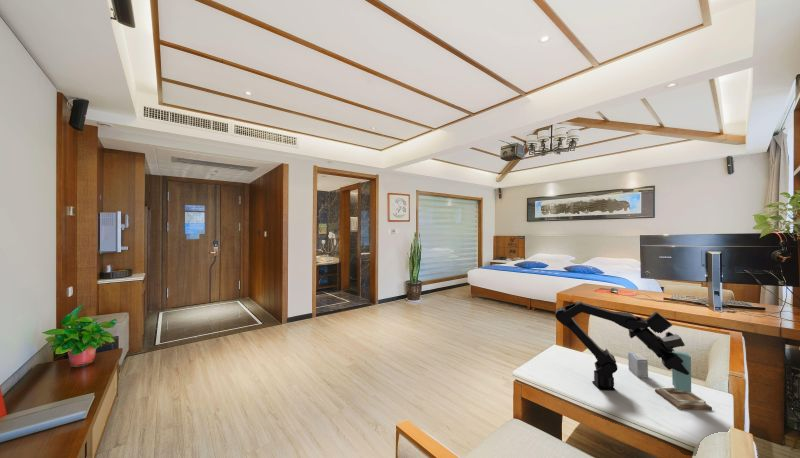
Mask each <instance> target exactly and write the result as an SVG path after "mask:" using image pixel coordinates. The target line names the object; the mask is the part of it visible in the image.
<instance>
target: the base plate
mask: <svg viewBox="0 0 800 458" xmlns="http://www.w3.org/2000/svg"><path fill="white" fill-rule="evenodd" d="M654 393H656V394H657V395H659V396H660V397H661V398H663V399H664V400H666V401H667V402H668V403H670V404H671V405H672V406H673V407H675V408H676V409H678V410H700V411H703V410H704V411H705V410H706V411H712V410H713V407H712V406H711V405H709V404H707V401H705V400H704V399H703V398H701V397H700V396H698V395H696V394H695V393H694V392H692V391H691V392H686V391H681V390H676V389H675V387H669V386H668V387H666V386H665V387H664V386H660V387H659V389H658V388H654ZM707 409H708V410H707ZM709 409H711V410H709Z"/></svg>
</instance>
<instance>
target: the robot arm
mask: <svg viewBox="0 0 800 458" xmlns="http://www.w3.org/2000/svg"><path fill="white" fill-rule="evenodd" d="M581 313H584V314H587V315H590V316H593V317H598V318H600V319H604V320H607V321H610V322H613V323H614V324H617V325H618V326H620V327H622V328H624V329H626V330H628V336H629V337H630V338H631V339H633V338H635V337H636V338H637V339H638V340H639V341H640V342H642V343H643V344H644V345H645V346H646V348H647V349H649V350H650V351H652V352H653V353H654V355H656V356H657V358H658V359H661V364H662V365H663V366H664V367H665V368H666V369H667V370H668V371H670V370H671V371H672V369H674V370H677V371H679V372H681V373H683V374H686V375H688V374H689V372H688V371H687V370H686V369H685V367H684V366H683V365H682V364H681V363H682V362H683V360H682V359H681V357H680V356H678V355H677V354H676V353H672V351H675V349H674V348H680V347H681V348H682V347H685V346H686V344H685V342H684V341H683V339H682V337H681V336H679V334H676V333H672V332H671V331H666V330H668V329H670V328H671V327H672V326H673V324H672V323H671V322H670V321H669V320H668V319H667V318H666V317H664V316H663V315H661V314H660V313H659V312H658V311H655V312H653V313H652V314H651V315H650V316H648V317H647V318H646V319H645V318H644V317H641V316H636V315H634V314H632V313H630V312H627V311H626V312H625V311H614V310H610V309H605V308H602V307H600V306H595V305H591V304H588V303H585V302H583V301H577V302H574V303H572V304H568V305H565V306H559V307H557V308H556V310H555V319H556V321H558V322H559V323H560V324H561V325H563V326H564V327H566V328H567V329H569V330H570V331H571V332H572V333H573V335H575V337H576V338H577V339H578V340H580V342H582V344H583V345H584V346H585V347H586V348H587V349H588V351H590V353H591V354H592V355H593V356H594V358H595V359H596V361H595V362H594V367H595V370H593V380H592V381H591V382H592V383H593V385H594V386H596V388H597V389H598V390H601V391H602V390H603V391H605V390H606V391H615V390H616V388H615V378H614V375H613V374H614V373H616V372H617V371H618V364H617V360H616V358H615V355H613V354H612V353H611V352H610V351H609V350H608V349H607V348H605V350H604V349H602V348H601V347H600V346H599V345H598V344H597V343H596V342H595V341H594V340H593V338H591V337H590V336H589V334H587V332H586V331H585V330H584V329H583V328H582V327H581V326H580V325H579V324H578V323H577V322H576V320H575V318H574V317H576V316H577V315H579V314H581ZM665 331H666V332H665ZM663 332H665V336H664V337H661V336H659V335H656V334H655V333H657V334H659V333H660V334H662V333H663Z"/></svg>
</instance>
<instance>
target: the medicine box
mask: <svg viewBox="0 0 800 458" xmlns="http://www.w3.org/2000/svg"><path fill="white" fill-rule="evenodd" d="M627 353H628V354H627V357H628V359H627V360H628V365H627V366H628V371H630V373H632V374H633V375H634V376H636V377H637V378H638V379H639V378H642V379H648V378H649V363H648V362H649V361H648V359H647V358H645V357H644V356H643V355H641V354H640V353H638V352H627Z"/></svg>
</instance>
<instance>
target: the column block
mask: <svg viewBox="0 0 800 458" xmlns="http://www.w3.org/2000/svg"><path fill="white" fill-rule="evenodd" d="M672 353H676V354H677V355H678V356H680V357H681V359H682V360H683V362H682V363H681V364H682V365H683V366H684V367H685V369H686V370H687V371H688V372H689V374H688V375H686V374H683V373H681V372H679V371H677V370H674V369H671V377H672V379H671V382H672V387H673V388H675V389H676V390H681V391H686V392H692V356H691V355H690V354H689V353H688V352H686V351H676V350H674V351H672Z"/></svg>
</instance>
